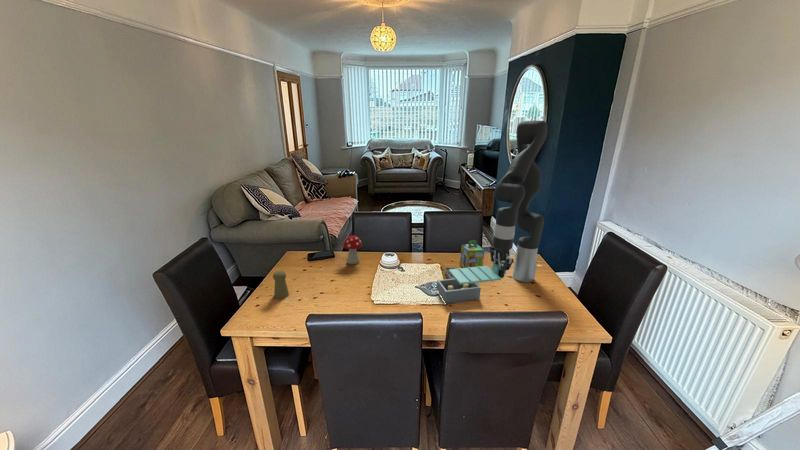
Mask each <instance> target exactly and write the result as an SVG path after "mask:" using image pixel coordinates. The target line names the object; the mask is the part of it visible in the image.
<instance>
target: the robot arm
mask: <svg viewBox="0 0 800 450" xmlns="http://www.w3.org/2000/svg"><path fill="white" fill-rule="evenodd" d="M547 135H548V123H547V122H546V121H545V120H540V119H539V120H522V121H519V122H518V124H517V126H516V135H515V137H516V147H517V148H516V150H517V155H516V156H515V157H514V158H513V159H512V160H511V162H510V164H509V167H508V169H507V172H506V174H504V176H503V177H502V178H501V179H500V181H498V183H497V184H496V186H495V187H494V191H493V196H494V198H495V200H496V201H498V202H503V203H510V204H511V206H504V207H499V208H498V209H497V211H496V215H495V217H496V218H495V225H494V227H493V235H492V243H491V244H492V246H490V247H489V254H490V261H491V263H492V265H493V264H499V272H498V276H499V277H500V278H501V279H504V277H505V274H504V273H505V270H506V271H509V270H510V269H511V267H512V265H513V263H514V266H513V271H512V277H513V279H514V280H516V281H519V282H520V283H521V282H522V283H530V282H532V281H533V280H535V278H536V271H537V265H538V261H537V255H538V249H539V244H540V241H541V237H542V234H543V233H542V232H543V229H544V225H545V224H544V223H545V218H544V216H543V215H541V214H539V213H535V212H532V211H531V212H530V209H529V208H530V203H531V201H532V200H533V199H534V198H535V197H536V195H538V193H539V191H540V189H541V187H542V185H541V183H542V172H541V170H540V168H539V166H538V165H537V163H536V162H535V161H534V160H535V158H536V156H538V155H537V154H538V153H539V152H540V150H541V148H542V146H543V145H544V142H546V139H547ZM516 227H517V228H518V229H519V230H521V231H522V232H527V233H528V234H529V236H522V237H521V236H520V237H519V238H518V240H517V245H516V252H515V258H511V257H510V250H512V248H514V247H513V246H514V240H515V232H516ZM514 259H515V260H514ZM502 264H504V265H503V267H502Z"/></svg>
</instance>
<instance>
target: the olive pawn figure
mask: <svg viewBox="0 0 800 450" xmlns="http://www.w3.org/2000/svg"><path fill="white" fill-rule="evenodd" d="M272 278H273V280H274V292H273V295H274V296H273V297H274V299H277V300H283V299H285V298H288V297H289V296H290V292H289V289H288V285H287V281H286V278H287V274H286V272H285V271H284V270H278V271H275V272H273V274H272Z"/></svg>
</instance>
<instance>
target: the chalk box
mask: <svg viewBox="0 0 800 450" xmlns="http://www.w3.org/2000/svg"><path fill="white" fill-rule="evenodd" d="M460 247H461V249H460V259H459V265H460V266H461V268H468V267H477V266H484V258H485V257H484V256H485V249H483V248H482V247H481V246H480V245H479V244H478V241H477V240H476V239H473V240H468V242H467V243H465V244H461V246H460Z"/></svg>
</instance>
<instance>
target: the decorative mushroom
mask: <svg viewBox="0 0 800 450" xmlns="http://www.w3.org/2000/svg"><path fill="white" fill-rule="evenodd" d="M342 246H343V249H346V250H348V255H347V259H346V263H347V264H348V265H356V264H359V262H360V257H359V255H358V251H357V249H360V248H361V247H363V244H362V240H361V238H360V237H359V236H357V235H350V236H347V237H346V238H345V239H344V240H343V244H342Z"/></svg>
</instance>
